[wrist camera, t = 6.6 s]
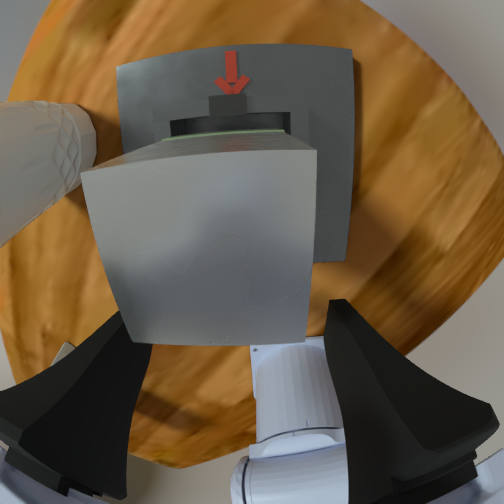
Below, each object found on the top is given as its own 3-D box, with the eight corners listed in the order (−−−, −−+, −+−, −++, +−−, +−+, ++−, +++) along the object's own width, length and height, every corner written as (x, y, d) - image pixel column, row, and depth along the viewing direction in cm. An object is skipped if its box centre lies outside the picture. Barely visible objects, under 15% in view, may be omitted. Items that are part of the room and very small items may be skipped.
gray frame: (341, 253, 19) (362, 293, 15) (150, 261, 20) (127, 300, 15) (346, 52, 13) (378, 35, 9) (123, 68, 13) (83, 59, 9)
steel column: (280, 221, 12) (307, 344, 6) (188, 225, 12) (131, 343, 6) (278, 127, 10) (320, 146, 4) (177, 134, 10) (77, 170, 4)
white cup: (46, 84, 13) (-58, 96, 4) (121, 113, 15) (9, 130, 6) (21, 175, 16) (-65, 224, 7) (87, 213, 18) (1, 289, 9)
